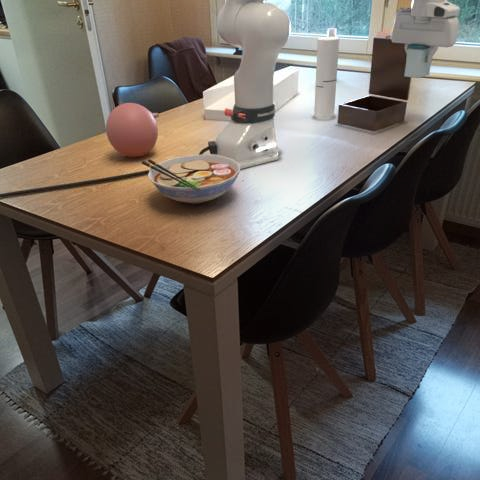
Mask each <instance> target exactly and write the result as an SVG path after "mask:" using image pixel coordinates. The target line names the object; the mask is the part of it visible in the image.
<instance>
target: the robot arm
mask: <svg viewBox="0 0 480 480" xmlns="http://www.w3.org/2000/svg"><path fill="white" fill-rule="evenodd" d="M265 1H266V0H225V2H224V4H223V6H222V7H221V9H220V10H219V12H218V14H217V18H216V30H217V33H218V35H219V36H220V38H221V40H223V41H224V42H226V43H227V44H229V45H230V46H232V47H233V48H238V49H242V52H241V59H240V64H239V67H238V69H236V71H235V73H234V75H233V76H234V91H235V105H234V107H233V111H232V110H231V109H228V108H226V109H225V111H224V113H225V116H229V117H231V121H228V123H227V124H226V126H224V128H223V129H222V131H221V132H220V133H219V134H218V135H217V137H215V140H210V141H207V144H208V146H206V147H204V148H203V149H201V150H200V151H199V153H198V155H202V154H205V153H206V152H208V151H209V155H218V156H223V157H227V158H230V159H233V160H234V161H236V162H237V163H238V164H239V165H240V170H242V169H246V168H250V167H254V166H258V165H261V164H266V163H270V162H273V161H277V160H279V153H280V150H279V147H278V142H277V137H276V128H275V119H274V118H275V116H276V111H275V104H274V102H273V78H274V75H275V69H276V64H277V61H278V57H279V55H280V52H281V51H282V49H283V48H284V47H285V46H286V44H287V43H288V40H289V38H290V35H291V30H292V28H291V27H292V26H291V25H292V24H291V19H290V17H289V15H288V13H287V11H285V10H284V9H282V8H281V7H280V6H277V5H275V4H273V3H271V2H265ZM460 11H461V9H460V7H459V5H456V4H454V3H452V2H450V1H448V0H412V1H411V6H410V7H405V6H404V7H399V9H397V10H396V11H395V14H394V21H393V26H392V29H391V30H392V34H391V40H392V42H393V43H403V44H405V51H406V54H407V53H408V45H412V44H414V45H425V46H430V50H431V52H430V53H429V55H428V56H425V63H431V64H432V62H433V57H434V56H435V55H436V53H437V52H438V49H439V48H451V47H453V46H454V45H455V44H456V43H457V41H458V40H457V39H458V35H459V28H460V27H459V25H460V22H459V18H458V17H457V16H458V15H460ZM406 60H407V58H406ZM149 171H150V169H147V170H141V171H136V172H129V173H125V174H120V175H119V174H118V175H114V176H108V177H101V178H95V179H90V180H83V181H82V180H81V181H77V182H70V183H64V184H57V185H56V184H55V185H49V186H43V187H35V188H31V189H30V188H29V189H22V190H16V191H9V192H4V193H0V199H1V198H6V197H7V198H8V197H13V196H19V195H20V196H21V195H27V194H32V193H39V192H46V191H52V190H59V189H67V188H73V187H79V186H86V185H92V184H99V183H105V182H111V181H117V180H123V179H128V178H133V177H138V176H143V175H148V174H149Z"/></svg>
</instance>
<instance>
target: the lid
mask: <svg viewBox="0 0 480 480" xmlns="http://www.w3.org/2000/svg"><path fill="white" fill-rule="evenodd" d="M406 58H407V54H406V51H405V44H403V43H393V42H392V40H391V39H387V38H376V37H373V41H372V52H371V61H370V62H371V63H370V74H369V85H368V95H372V96H377V97H383V98H388V99H394V100H400V101H405V102H408V101H409V98H410V89H411V81H412V77H406V76H404V75H405V67H406Z"/></svg>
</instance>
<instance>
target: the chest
mask: <svg viewBox="0 0 480 480" xmlns="http://www.w3.org/2000/svg"><path fill="white" fill-rule="evenodd" d="M407 105H408V101H406V100H401V99H395V98H389V97H384V96H378V95H372V94H368V95H365V96H362V97H359V98H356V99H352V100H349V101H346V102H342V103H339V104H338V111H337V124H339V125H343V126H348V127H352V128H357V129H360V130H365V131H369V132H374V133H376V132H378V131H382V130H383V129H386V128H389V127H392V126H394V125H397V124H400V123H402V122H404V121H405V120H406V114H407V113H406V112H407Z"/></svg>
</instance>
